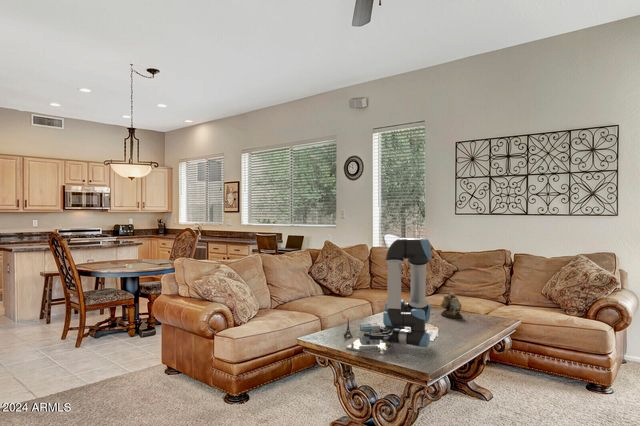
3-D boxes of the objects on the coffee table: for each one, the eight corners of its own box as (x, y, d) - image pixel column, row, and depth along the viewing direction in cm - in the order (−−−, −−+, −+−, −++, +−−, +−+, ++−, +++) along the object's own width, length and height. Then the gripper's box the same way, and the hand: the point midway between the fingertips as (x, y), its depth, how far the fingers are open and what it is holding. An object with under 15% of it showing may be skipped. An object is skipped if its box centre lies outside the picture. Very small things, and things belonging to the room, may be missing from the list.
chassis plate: (357, 341, 258) (357, 335, 258) (393, 346, 248) (393, 341, 247) (346, 349, 244) (346, 343, 244) (383, 355, 234) (383, 349, 233)
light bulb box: (361, 345, 242) (361, 326, 242) (359, 341, 249) (359, 323, 248) (380, 344, 243) (380, 325, 243) (377, 341, 250) (377, 322, 249)
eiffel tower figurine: (363, 338, 266) (363, 316, 265) (353, 342, 258) (353, 319, 258) (345, 333, 276) (345, 312, 276) (334, 336, 269) (334, 315, 268)
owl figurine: (435, 314, 319) (435, 291, 319) (446, 312, 326) (446, 290, 326) (456, 320, 304) (456, 295, 304) (466, 317, 311) (466, 293, 311)
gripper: (393, 349, 227) (354, 343, 237) (407, 337, 247) (371, 332, 258) (393, 335, 227) (354, 329, 237) (407, 324, 247) (371, 319, 258)
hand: (363, 330), depth 248 cm, fingers closed on light bulb box, 11 cm apart
